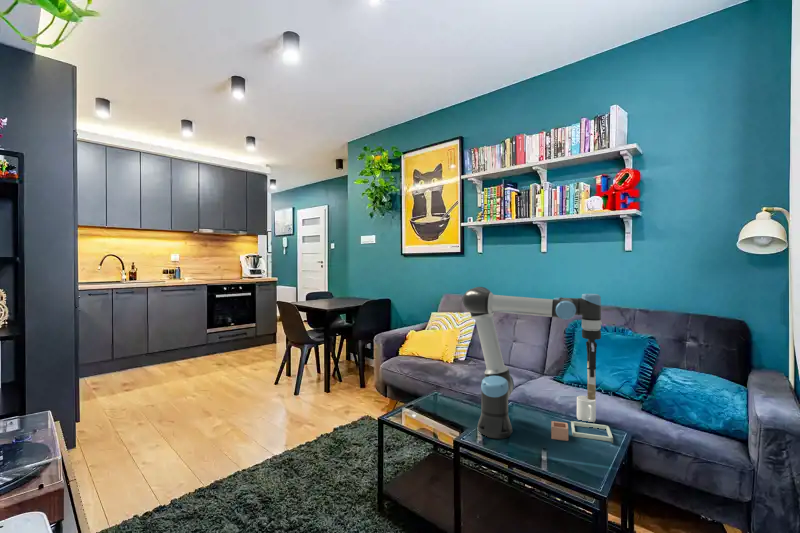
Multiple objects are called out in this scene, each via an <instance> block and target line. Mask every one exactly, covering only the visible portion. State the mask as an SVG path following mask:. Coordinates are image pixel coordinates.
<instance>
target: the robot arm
mask: <svg viewBox="0 0 800 533" xmlns="http://www.w3.org/2000/svg"><path fill="white" fill-rule="evenodd" d="M601 301H602V299H601V296H600V294H598V293H582V294H581V297H577V298H576V297H561V296H560V297H554V298H553V299H552V298H539V297H538V298H537V297H527V296H525V297H524V296H515V295H502V294H501V295H499V294H494V293H493V292H492V291H491V290H490V289H488V288H487V287H483V286H476V287H473V288H470V289H468V290H466V292H465V293H464V295H463V297H462V304H463V307H464V308H465V309H466V311H468V312H469V313H470V316H471V318H472V319H474V320H475V325H476V328H477V333H478V337H479V342H480V346H481V350H482V355H483V359H484V364H485V367H486V369H485V371H484V378H483V379H482V380H481V385H480V390H481V398H480V400H481V404H480V405H481V406H480V407H481V408H480V409H481V411H480V412H481V413H480V417H479V418H478V423H477V432H478V431H479V432H480V433H481V434H483V435H485V436H484V437H486V436H487V437H486V438H490V439H496V440H497V439H498V440H499V439H507V438H509V437H511V435H512V433H513V426H512V422H511V420H510V417H509V398H510V397H511V395H512V393H513V391H514V388H515V382H514V379H513V376H512V375H511V374H510V373H511V372H510V369H509V367H507V366H506V365H505V361H504V359H503V354H502V350H501V345H500V340H499V336H498V332H497V328H496V324H495V321H494V314H495V313H502V314H503V313H504V314H515V315H528V316H536V317H537V316H538V317H548V318H555V319H561V320H566V321H567V320H571V319H573V317H575V316H581V328H582V330H581V337H582V338H583V339H586V340H587V341H586V342H585V345H586V360H587V361H586V363H587V362H588V361H589V368H587V367H586V370H587V369H588V384H593V385H595V369H596V370H597V348H598V347H597V346H598V343H597V342H596V340H597V341H598V340H600V339H601V338H602V331H601V329H602V325H603V322H602V302H601ZM479 432H478V433H479ZM480 433H479V434H480ZM481 434H480V435H481ZM483 435H482V436H483Z"/></svg>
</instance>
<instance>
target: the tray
mask: <svg viewBox="0 0 800 533" xmlns="http://www.w3.org/2000/svg"><path fill="white" fill-rule="evenodd" d="M570 426H571V433H572V437H576V438H583V439H589V440H595V441H596V440H597V441H604V442H610V443H611V444H612V445H614V437H613V435H612V431H611V429H610V426H609V425H606V424H597V423H586V422H582V421H575V420H574V421H573V420H571V421H570ZM575 427H583V428H589V427H593V428H592V429H597V428H599V429H598V430H605V429H606V430H605V431H606V433H607V436H606V435H600V434H592V433H586V432H585V433H584V432H577V431H576V428H575Z"/></svg>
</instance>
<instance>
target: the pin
mask: <svg viewBox="0 0 800 533" xmlns="http://www.w3.org/2000/svg"><path fill="white" fill-rule="evenodd" d="M586 364H587V367H586V370H587V379H586V380H587V395H586V396H587V398H588V399H590V400H597V399H596V397H597V396H596V392H597V391H596V390H597V389H596V387H597V385H596V379H597V378H596V375H597V374H596V370H597V368H596V369H595V385H593V384H588V369H587V368H589V361H588V362H587V361H586Z"/></svg>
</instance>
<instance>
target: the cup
mask: <svg viewBox="0 0 800 533" xmlns="http://www.w3.org/2000/svg"><path fill="white" fill-rule="evenodd" d="M596 400H597V399H596ZM596 400H590V399H588V398H587V395H578V396H576V419H577V420H578V421H579V420H582V421H588V422H593V423H595V422H596V420H597V419H596V418H597V417H596V416H597V413H596V412H597V402H596ZM582 421H581V422H582Z"/></svg>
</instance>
